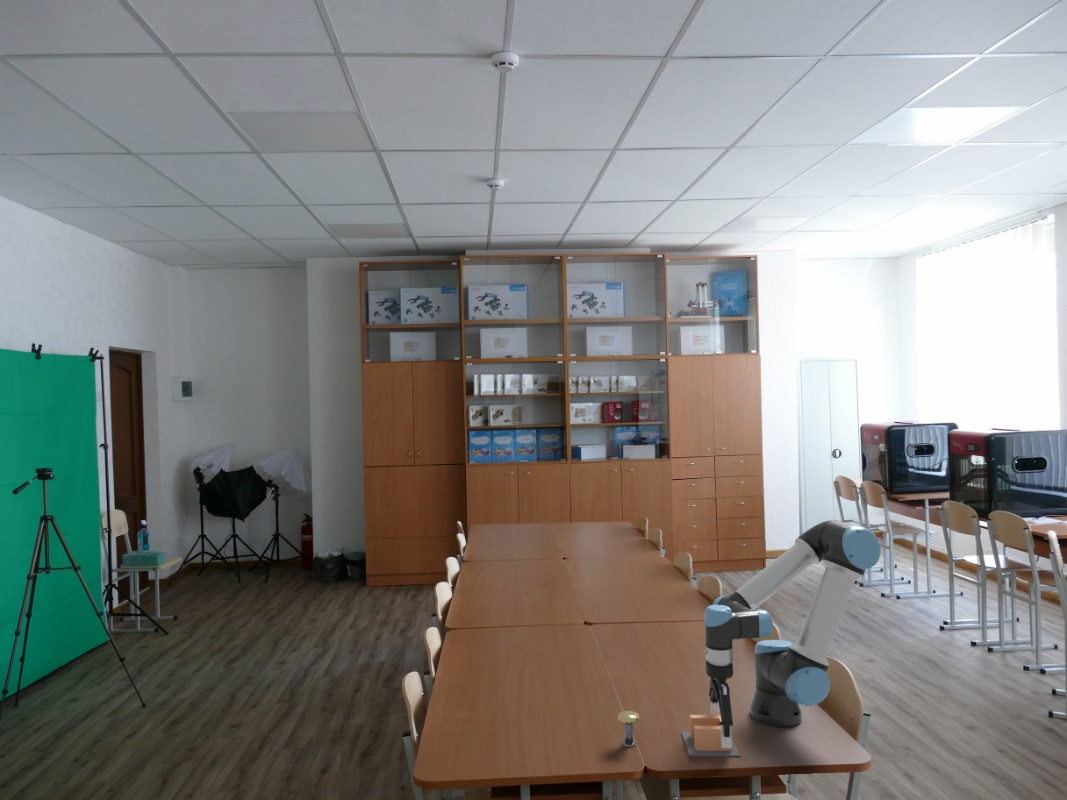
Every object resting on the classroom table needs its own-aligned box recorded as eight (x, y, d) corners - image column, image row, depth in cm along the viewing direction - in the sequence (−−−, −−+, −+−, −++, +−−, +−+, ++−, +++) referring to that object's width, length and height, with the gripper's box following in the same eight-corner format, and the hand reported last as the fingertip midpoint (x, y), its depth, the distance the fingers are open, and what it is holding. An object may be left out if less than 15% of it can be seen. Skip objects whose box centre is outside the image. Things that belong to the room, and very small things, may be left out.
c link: (724, 735, 208) (724, 715, 208) (731, 750, 199) (731, 729, 199) (690, 735, 208) (689, 715, 208) (695, 750, 199) (695, 729, 199)
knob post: (638, 739, 207) (637, 710, 208) (640, 748, 201) (640, 719, 202) (617, 738, 208) (617, 710, 208) (619, 748, 202) (618, 719, 202)
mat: (729, 733, 210) (729, 731, 210) (740, 756, 196) (740, 755, 196) (681, 733, 211) (681, 731, 211) (689, 756, 197) (689, 754, 197)
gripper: (697, 646, 216) (699, 716, 216) (714, 678, 191) (716, 757, 191) (722, 646, 216) (724, 716, 216) (743, 678, 191) (745, 757, 191)
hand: (721, 735), depth 203 cm, fingers open, 13 cm apart
